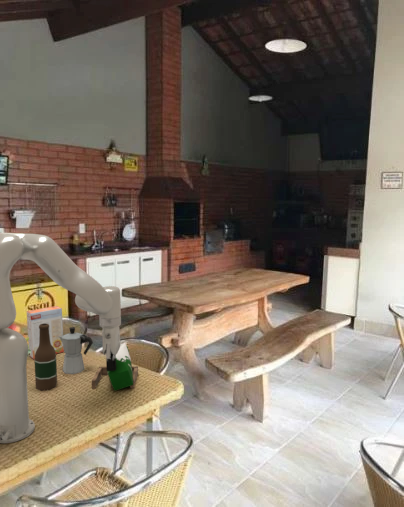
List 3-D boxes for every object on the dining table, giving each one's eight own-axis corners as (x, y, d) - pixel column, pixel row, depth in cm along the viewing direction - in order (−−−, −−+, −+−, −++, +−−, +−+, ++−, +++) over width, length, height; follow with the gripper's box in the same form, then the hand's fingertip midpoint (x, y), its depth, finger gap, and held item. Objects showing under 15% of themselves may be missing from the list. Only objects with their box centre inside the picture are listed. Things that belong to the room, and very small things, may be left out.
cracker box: (59, 348, 198) (57, 305, 195) (64, 352, 194) (62, 307, 191) (28, 355, 189) (26, 310, 186) (32, 359, 185) (30, 313, 182)
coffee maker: (53, 373, 171) (52, 329, 169) (64, 364, 180) (63, 323, 177) (88, 376, 168) (87, 332, 166) (97, 367, 177) (96, 325, 175)
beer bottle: (50, 392, 154) (47, 328, 151) (31, 390, 156) (28, 326, 153) (61, 383, 162) (59, 322, 159) (43, 381, 164) (40, 320, 160)
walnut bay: (133, 388, 158) (133, 380, 158) (92, 388, 158) (91, 380, 157) (137, 373, 171) (137, 366, 171) (99, 373, 171) (99, 366, 170)
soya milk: (129, 367, 154) (125, 338, 172) (105, 375, 152) (103, 344, 170) (136, 386, 157) (131, 355, 175) (112, 394, 156) (110, 362, 174)
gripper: (117, 327, 145) (118, 378, 147) (124, 315, 160) (124, 361, 162) (95, 327, 145) (96, 378, 147) (103, 315, 160) (105, 362, 162)
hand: (111, 369), depth 155 cm, fingers closed
